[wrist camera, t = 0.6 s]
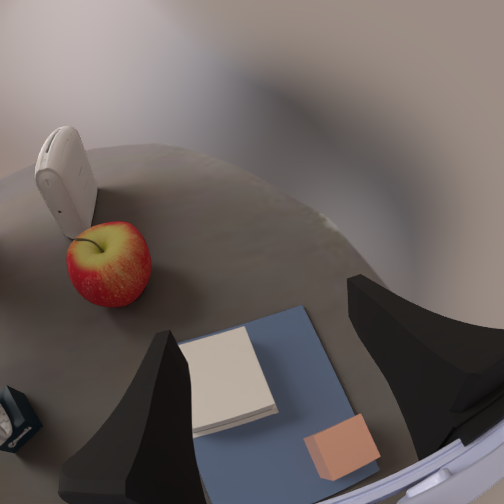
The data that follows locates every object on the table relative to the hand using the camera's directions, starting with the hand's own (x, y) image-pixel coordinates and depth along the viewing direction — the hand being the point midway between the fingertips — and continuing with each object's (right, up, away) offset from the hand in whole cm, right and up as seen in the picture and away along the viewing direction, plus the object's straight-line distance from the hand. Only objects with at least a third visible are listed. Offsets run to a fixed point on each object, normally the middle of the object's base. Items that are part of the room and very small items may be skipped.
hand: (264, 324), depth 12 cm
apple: (-14, -1, +20) cm, 24 cm away
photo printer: (-24, +8, +26) cm, 36 cm away
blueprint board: (+1, -11, +12) cm, 16 cm away
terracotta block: (+6, -14, +10) cm, 18 cm away
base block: (-3, -9, +13) cm, 16 cm away
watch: (-24, -15, +9) cm, 30 cm away
